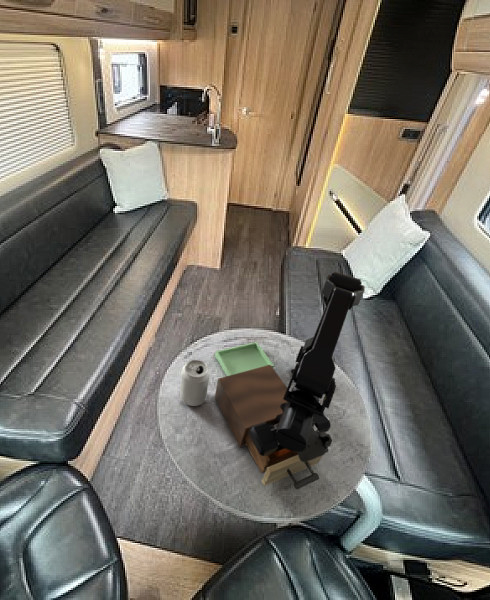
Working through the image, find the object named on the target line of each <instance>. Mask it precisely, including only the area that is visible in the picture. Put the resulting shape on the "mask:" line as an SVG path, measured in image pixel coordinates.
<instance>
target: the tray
mask: <svg viewBox="0 0 490 600" xmlns="http://www.w3.org/2000/svg"><path fill="white" fill-rule="evenodd" d="M214 356H215V358H216V360H217V363H218V364H219V365H220V367H221V369H222V370H223V372H224V374H225V375H226V376H230V375H233V374H237V373H241V372H244V371H248V370H252V369H256V368H259V367H263V366H267V365H271V366H272V368H273V369H274V368H275V365H274V363H273V362H272V361H271V359H270V358H269V356H268V355H267V354H266V353H265V351H264V349H262V347H261V346H260V344H259V343H258V342H257V341H254V342H250V343H246V344H241V345H237V346H233V347H228V348H224V349H220V350H216V351H215V355H214Z"/></svg>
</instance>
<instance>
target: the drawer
mask: <svg viewBox="0 0 490 600" xmlns="http://www.w3.org/2000/svg"><path fill="white" fill-rule="evenodd" d="M271 424H272V425H273V427H274V425H276V424H279V422H278V421H277V420H274V421H271V422H268V423H267V425H271ZM249 430H250V429H248V430H247V433H246V437H245V440H244V441H245V443H246V445H245V446H246V447H247V449H248V451H249V453H250V454H251V457H252V459H253V461H254V463H255V464H256V466H257V468H258V470H259V471H260V473H261V474H264V475H263V476H262V479H261V483H262V485H263V486H264V487H266V486H268V485H271V484H273V483H275V482H278V481H281V480H282V479H285V478H287V477H289V478H290V479H291V481H292V485H293V488H294V489H295V490H300V489H301V488H304V487H306V486H308V485H310V484H312V483H314V482H317V481H318V480H320V475H319V474H318V473H317V472H315V471H314V469H313V466H315V465H317V464H319V462H320V461H321V459H322V457H323V456H324V455H322V456H320V457H317V458H315V459H312V460H309V461H306V462H302V461H301V460H300V459H299V457H298V453H297V452H294V451H291V452H290V453H287V454H285V455H282V456H280V457H277V458H276V456H275V454H274V452H273V453H271V454H268V455H265V456H261V455H260V454H259V453H258V451H257V449H256V447H255V445H254V443H253V442H252V440H251V438H250V436H249V434H248V433H249ZM306 469H308V471H309V473H310V474H309V475H307V476H305V477H303V478H301V479H297V478H296V477H295V476H294V474H296V473H299V472H301V471H303V470H306ZM296 479H297V480H296Z"/></svg>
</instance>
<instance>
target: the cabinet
mask: <svg viewBox="0 0 490 600" xmlns="http://www.w3.org/2000/svg"><path fill="white" fill-rule="evenodd" d="M287 387H288V386H286V384H285V382H283V380H282V378H281V377H280V376H279V374H278V373H277V372H276V370H275V369H274V368H272V366H271V365H267V366H263V367H259V368H256V369H252V370H248V371H244V372H241V373H237V374H233V375H230V376H227V375H226V376H222V377H218V378H217V384H216V387H215V393H214V399H215V401H216V403H217V405H218V406H219V409H220V411H221V413H222V415H223V417H224V419H225V421H226V423H227V425H228V427H229V429H230V431H231V433H232V434H233V436H234V438H235V440H236V443H237V444H238V446H239V448H241V447H244V446H247V445H246V443H245V441H244V440H245V437H246V433H247V430H248V429H250V427H251V426H253V425H256V424H259V423H262V422H265V423H268V422H271V421H274V420H277V419H276V416H277V415H279V414H282V412H283V411H282V409H281V408H280V406H281V404H283V403H286V402H287V401H286V400H284V399H283V398H284V395H285V393H286V390H287Z"/></svg>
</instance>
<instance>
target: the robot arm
mask: <svg viewBox="0 0 490 600" xmlns="http://www.w3.org/2000/svg"><path fill="white" fill-rule="evenodd" d="M362 283H363V281H362V279H361V278H357V277H354V276H351V275H348V274H344V273H341V272H338V271H334V272H332V273H331V274H327V277H326V279H325V282H324V285H323V287H322V290H321V294H322V295H323V296H322V299H323V303H324V304H325V308H324V310H323V312H322V315H321V318H320V320H319V322H318V324H317V327H316V329H315V332H314V334H313V336H312V337H310V338H308V339H306V340H305V342H304V344H303V345H301V346H300V348H299V351H298V353H297V356H296V359H295V361H294V362H295V363H296V364H295V366H294V368H292V369H291V370H290V372H291V376H290V379H289V382H288V384H287V386H286V387H287V390H286V393H285V395H284V398H283V399H284V400H286V401H287V402H286V403H283V404H281V406H280V408H281V409H282V411H283V412H282V414H279V415H277V416H276V419H277V421H278V422H279V424H276V425H274V427H273V425H272V424H271V425H267V423H265V422H262V423H259V424H256V425H253V426H251V427H250V430H249V433H248V434H249V436H250V438H251V440H252V442H253V443H254V445H255V447H256V449H257V451H258V453H259V454H260V455H261V456H265V455H268V454H271V453H273V452H274V453H276V452H277V451H279V450H282V449H285V448H286V449H288V450H290V451H294V452H297V453H298V457H299V459H300V460H301V461H302V462H306V461H309V460H312V459H315V458H317V457H320V456H322V455H323V456H324V455H325V454H326V453H329V447H331V445H332V443H333V439H332V437H331V434H330V433H327V432H329V431H330V428H332V427H331V426H332V424H331V420H330V419H329V418H328V416H327V415H326V414H325V410H326V409H329V408H330V405H331V402H332V400H333V397H334V394H335V391H336V388H337V384H336V378H335V377H334V376H335V375H334V374H335V372H336V364H335V359H334V353H335V351H336V347H337V344H338V342H339V338H340V335H341V333H342V329H343V326H344V324H345V321H346V318H347V315H348V312H349V311H351V309H352V308H353V307H356V306H359V305H360V302H361V300H362V297H363V295H364V293H365V287H366V285H363V284H362ZM293 383H295V384H294V385H293ZM292 385H293V387H292ZM291 387H292V388H291ZM323 396H324V397H323ZM322 398H323V400H322V403H321V402H320V399H322ZM315 428H316V429H315ZM323 456H322V457H323Z"/></svg>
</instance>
